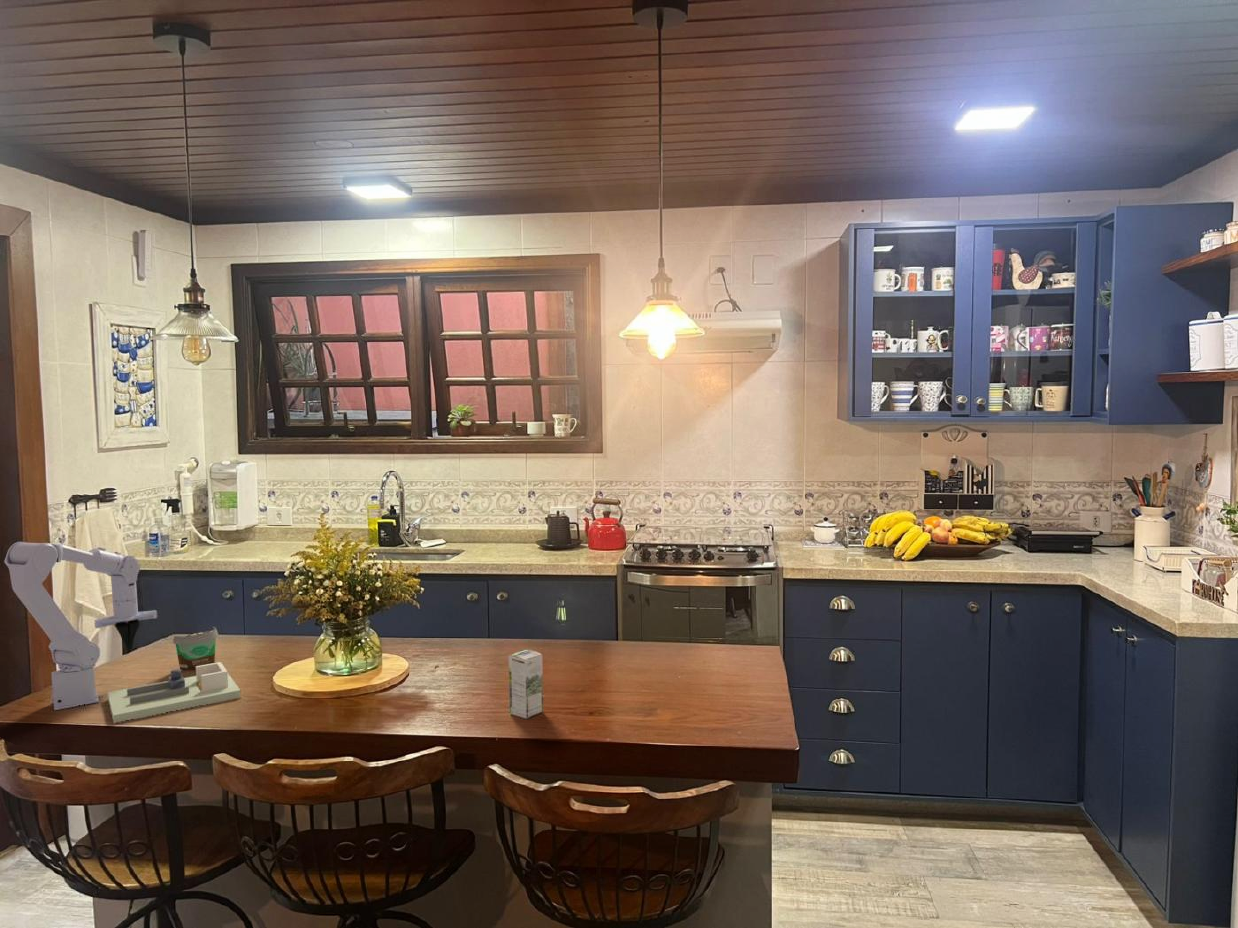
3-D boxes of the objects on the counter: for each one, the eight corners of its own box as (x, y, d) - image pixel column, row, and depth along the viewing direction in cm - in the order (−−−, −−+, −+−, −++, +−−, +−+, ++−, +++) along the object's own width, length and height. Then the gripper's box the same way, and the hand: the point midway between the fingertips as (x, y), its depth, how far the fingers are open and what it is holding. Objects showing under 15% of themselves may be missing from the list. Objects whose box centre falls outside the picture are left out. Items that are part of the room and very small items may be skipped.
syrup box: (526, 707, 205) (525, 648, 204) (544, 712, 201) (542, 652, 200) (509, 714, 201) (507, 654, 200) (527, 719, 197) (525, 658, 196)
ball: (199, 695, 219) (198, 682, 218) (197, 692, 222) (196, 679, 221) (214, 692, 221) (213, 679, 220) (212, 689, 224) (211, 676, 223)
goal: (202, 691, 216) (201, 676, 216) (196, 681, 224) (195, 666, 224) (228, 686, 219) (227, 671, 219) (221, 676, 228) (220, 661, 227)
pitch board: (113, 723, 201) (112, 708, 201) (107, 699, 217) (106, 686, 217) (240, 697, 217) (240, 683, 216) (226, 677, 233) (225, 664, 233)
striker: (172, 694, 214) (170, 674, 214) (169, 687, 219) (167, 668, 218) (185, 691, 216) (184, 672, 215) (182, 685, 221) (180, 666, 220)
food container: (185, 674, 236) (182, 639, 236) (174, 670, 240) (172, 636, 239) (228, 663, 246) (226, 629, 245) (217, 659, 250) (215, 626, 249)
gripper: (96, 606, 221) (100, 657, 222) (158, 597, 230) (161, 646, 231) (91, 602, 226) (95, 652, 227) (152, 593, 236) (155, 640, 237)
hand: (128, 648), depth 230 cm, fingers closed
